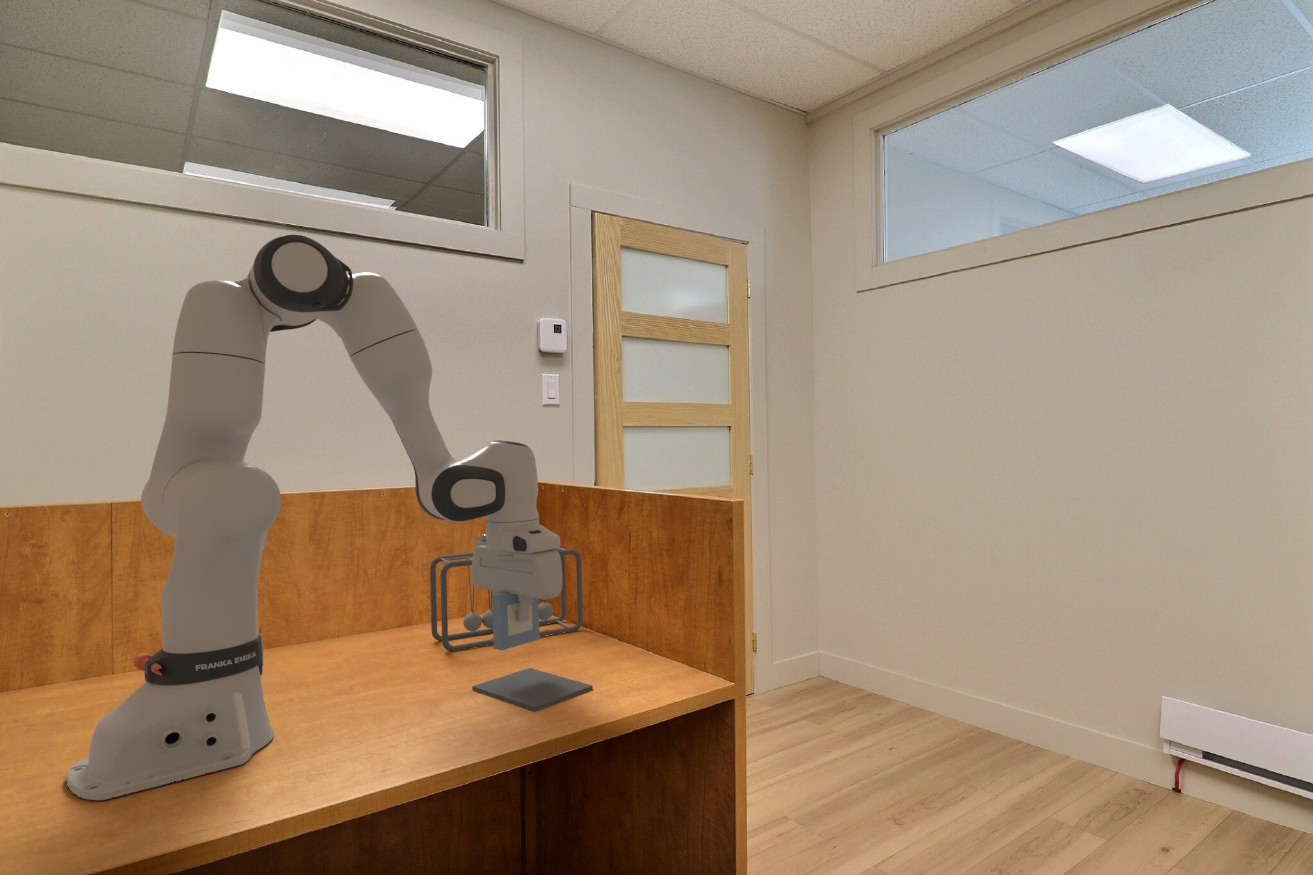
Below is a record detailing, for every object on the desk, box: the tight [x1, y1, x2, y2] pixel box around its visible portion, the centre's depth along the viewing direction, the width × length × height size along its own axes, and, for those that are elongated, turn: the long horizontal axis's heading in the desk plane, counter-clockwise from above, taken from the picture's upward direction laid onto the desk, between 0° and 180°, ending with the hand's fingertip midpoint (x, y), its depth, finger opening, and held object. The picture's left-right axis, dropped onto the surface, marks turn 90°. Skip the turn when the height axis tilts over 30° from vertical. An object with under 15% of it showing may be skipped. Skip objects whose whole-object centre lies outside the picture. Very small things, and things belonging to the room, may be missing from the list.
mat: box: [471, 667, 594, 712], centre depth 116 cm, size 12×16×1 cm
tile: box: [492, 591, 541, 652], centre depth 119 cm, size 2×8×9 cm, turn 139°
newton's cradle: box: [429, 545, 584, 653], centre depth 151 cm, size 30×10×18 cm, turn 120°
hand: (515, 619), depth 119 cm, fingers closed on tile, 2 cm apart
